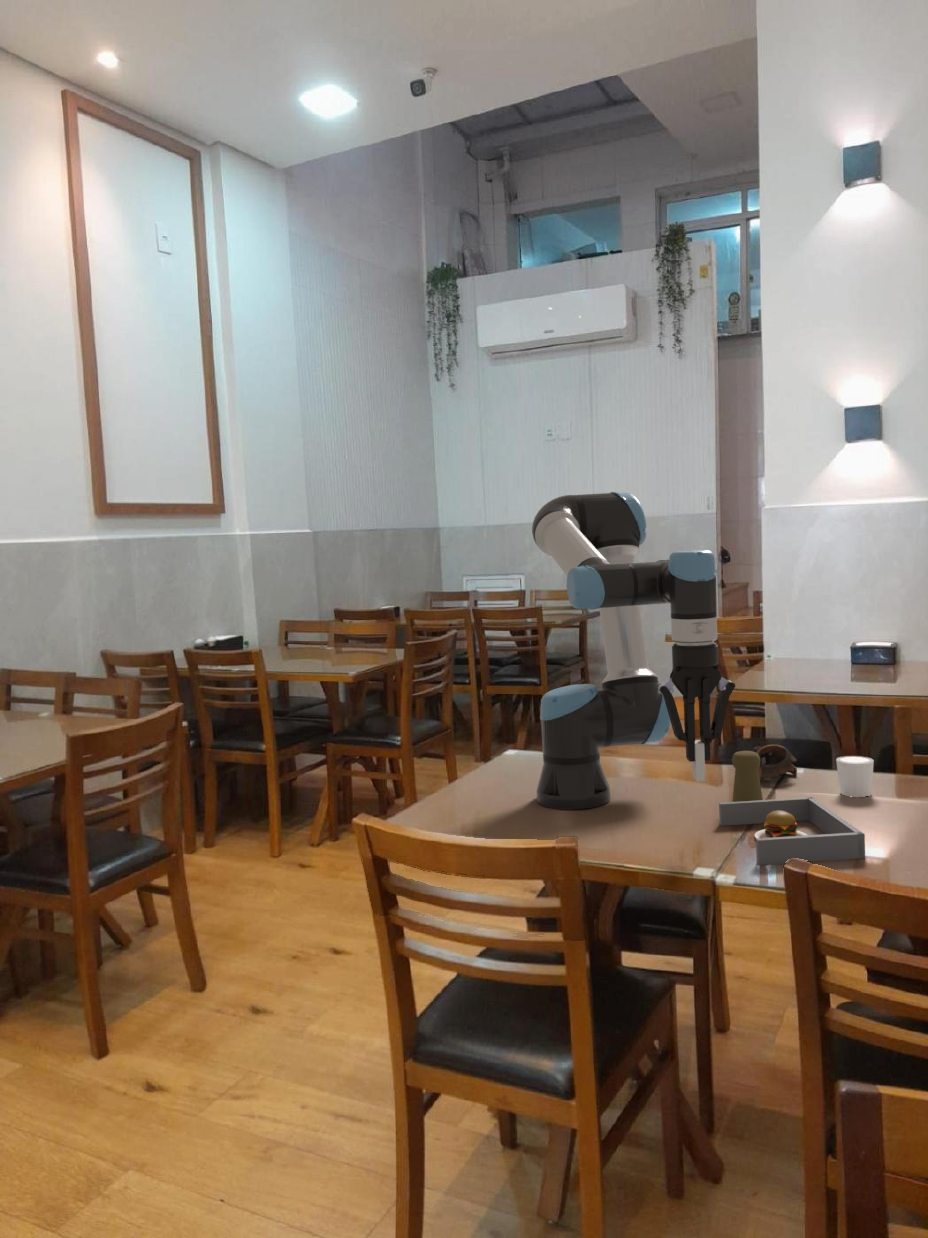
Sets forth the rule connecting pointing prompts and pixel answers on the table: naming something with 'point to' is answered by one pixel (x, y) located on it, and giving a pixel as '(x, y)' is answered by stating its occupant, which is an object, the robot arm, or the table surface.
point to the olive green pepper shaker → (746, 776)
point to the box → (831, 846)
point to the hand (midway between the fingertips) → (698, 779)
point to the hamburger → (779, 825)
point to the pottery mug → (774, 761)
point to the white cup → (855, 775)
